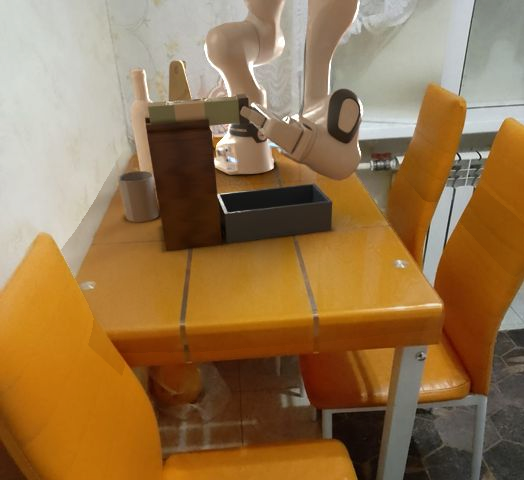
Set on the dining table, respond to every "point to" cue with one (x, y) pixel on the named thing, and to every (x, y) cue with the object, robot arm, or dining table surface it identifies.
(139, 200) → the cup
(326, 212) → the crate
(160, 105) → the drawer
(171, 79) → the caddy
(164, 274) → the dining table surface
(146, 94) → the bottle
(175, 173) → the stand
